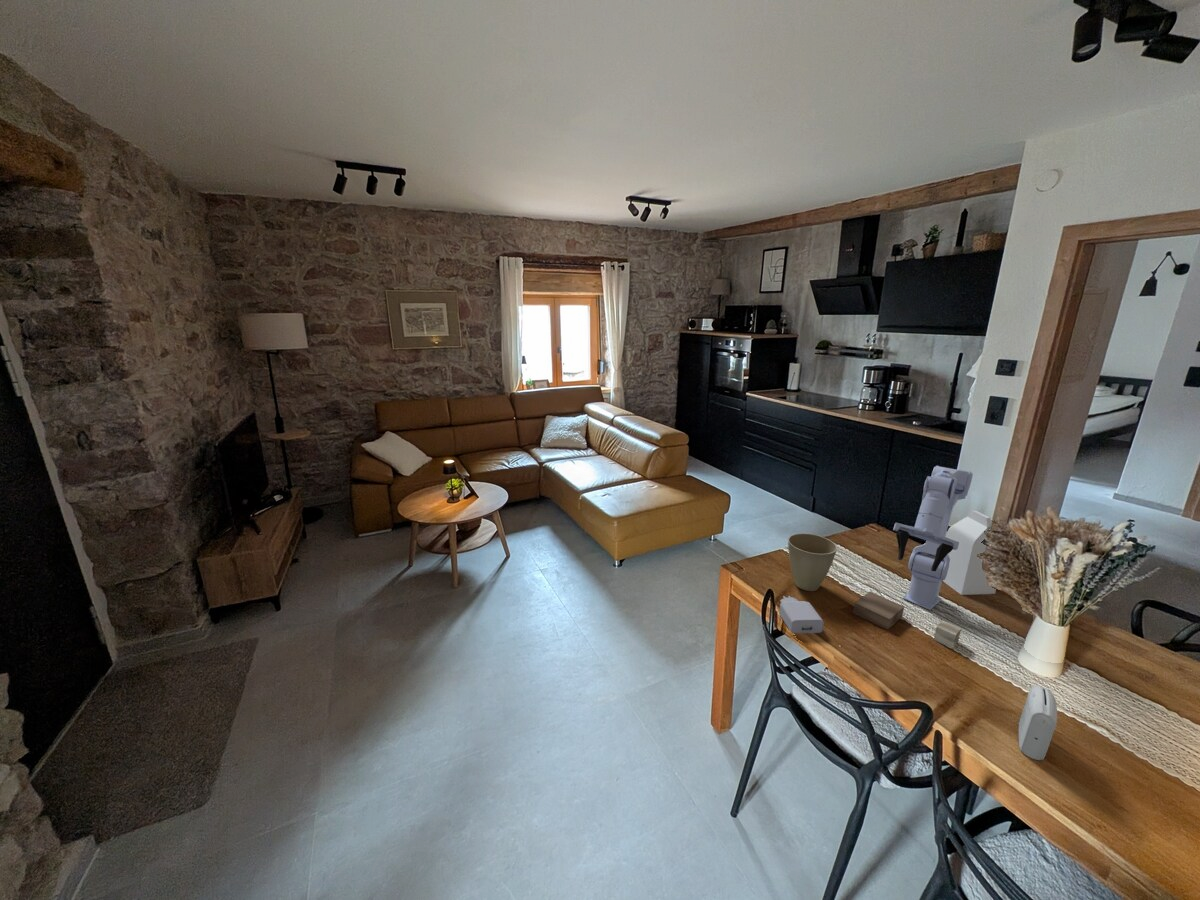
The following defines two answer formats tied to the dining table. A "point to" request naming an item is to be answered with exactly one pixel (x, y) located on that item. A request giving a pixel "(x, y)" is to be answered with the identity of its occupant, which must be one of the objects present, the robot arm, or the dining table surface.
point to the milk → (968, 555)
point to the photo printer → (1037, 722)
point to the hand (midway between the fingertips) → (916, 564)
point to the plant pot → (810, 559)
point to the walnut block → (878, 610)
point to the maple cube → (947, 634)
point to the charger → (800, 616)
